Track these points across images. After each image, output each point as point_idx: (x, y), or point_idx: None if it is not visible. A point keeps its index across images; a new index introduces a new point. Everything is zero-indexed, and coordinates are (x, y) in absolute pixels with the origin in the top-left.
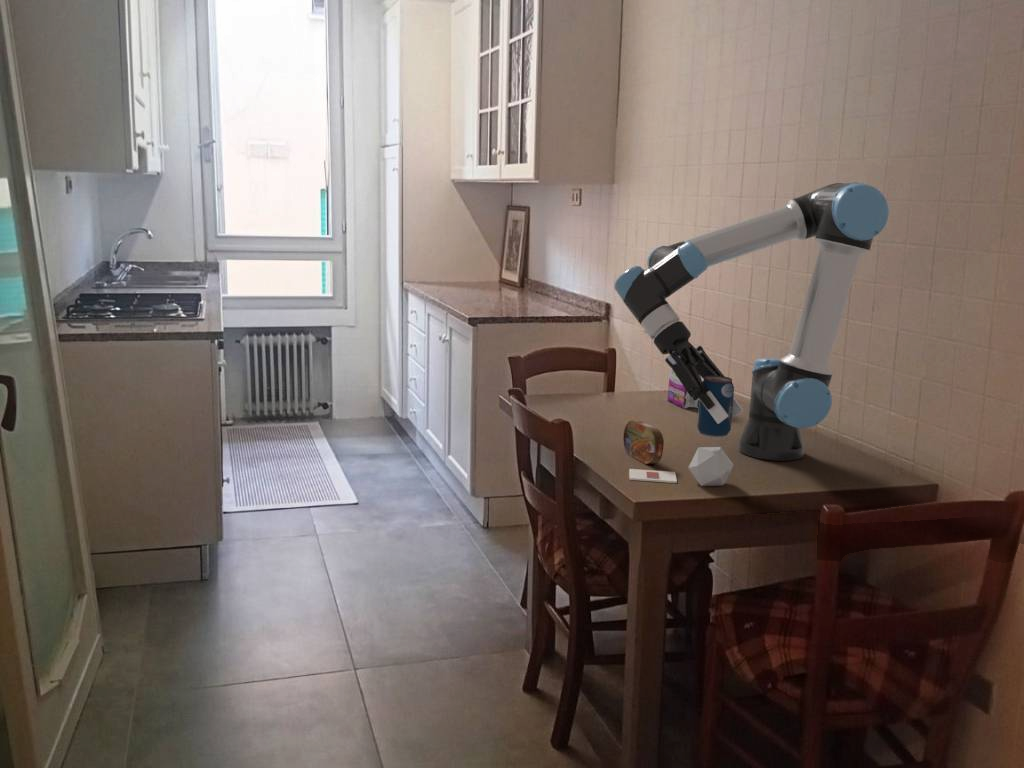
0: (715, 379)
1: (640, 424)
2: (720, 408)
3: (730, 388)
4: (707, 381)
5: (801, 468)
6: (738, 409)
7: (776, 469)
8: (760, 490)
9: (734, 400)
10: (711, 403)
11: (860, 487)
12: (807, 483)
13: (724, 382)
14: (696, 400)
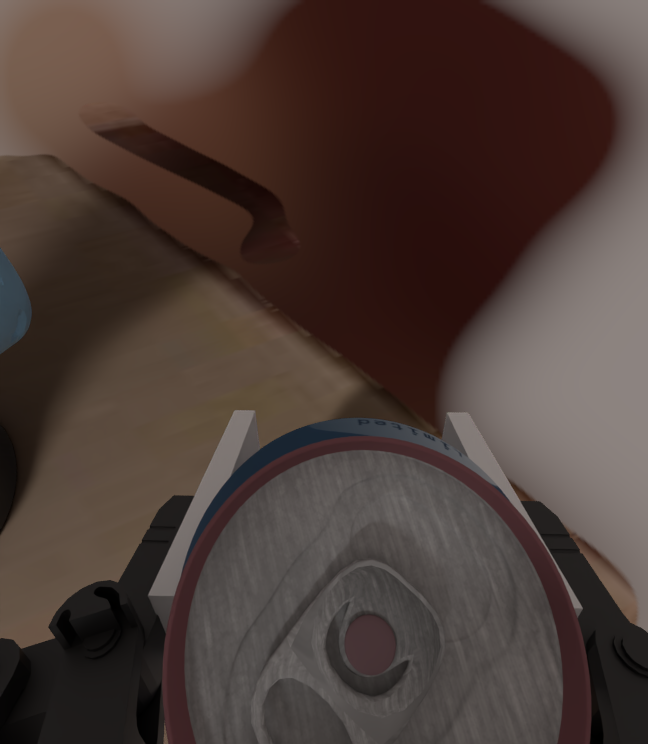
0: (441, 658)
1: None
2: (492, 456)
3: (397, 425)
4: (558, 740)
5: (52, 373)
6: (253, 434)
7: (96, 418)
8: (305, 381)
9: (235, 463)
10: (553, 519)
11: (139, 232)
12: (177, 320)
13: (477, 476)
14: None
